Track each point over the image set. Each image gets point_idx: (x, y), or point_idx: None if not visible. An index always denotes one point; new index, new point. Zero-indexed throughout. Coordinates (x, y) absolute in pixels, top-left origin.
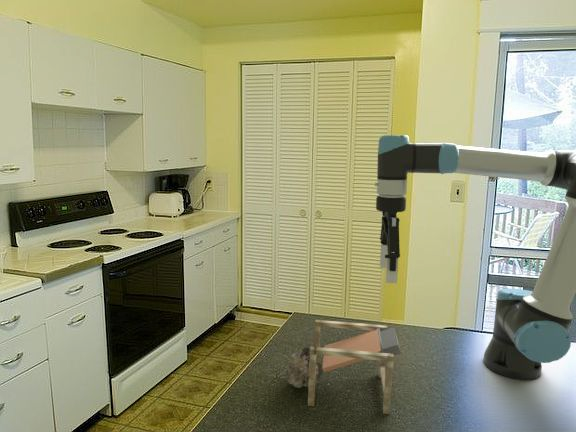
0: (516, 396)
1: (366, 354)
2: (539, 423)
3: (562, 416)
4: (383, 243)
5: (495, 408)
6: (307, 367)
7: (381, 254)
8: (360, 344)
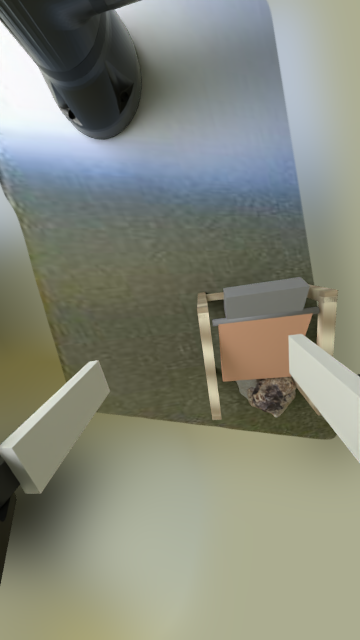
0: (197, 88)
1: (334, 336)
2: (267, 56)
3: (238, 3)
4: (10, 493)
5: (241, 131)
6: (291, 392)
7: (76, 435)
8: (258, 343)
